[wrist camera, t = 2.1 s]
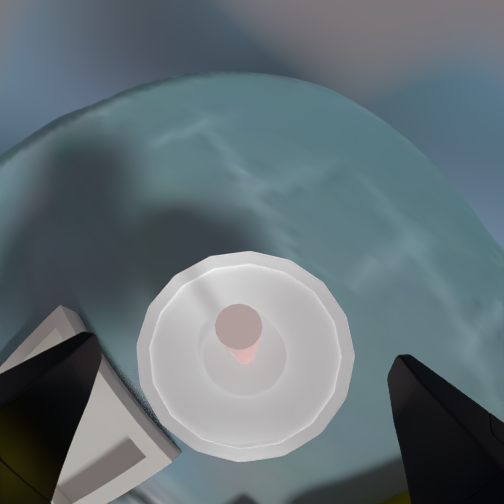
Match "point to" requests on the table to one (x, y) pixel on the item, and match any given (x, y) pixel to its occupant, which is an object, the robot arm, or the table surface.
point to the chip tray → (100, 427)
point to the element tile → (399, 499)
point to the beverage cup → (245, 356)
